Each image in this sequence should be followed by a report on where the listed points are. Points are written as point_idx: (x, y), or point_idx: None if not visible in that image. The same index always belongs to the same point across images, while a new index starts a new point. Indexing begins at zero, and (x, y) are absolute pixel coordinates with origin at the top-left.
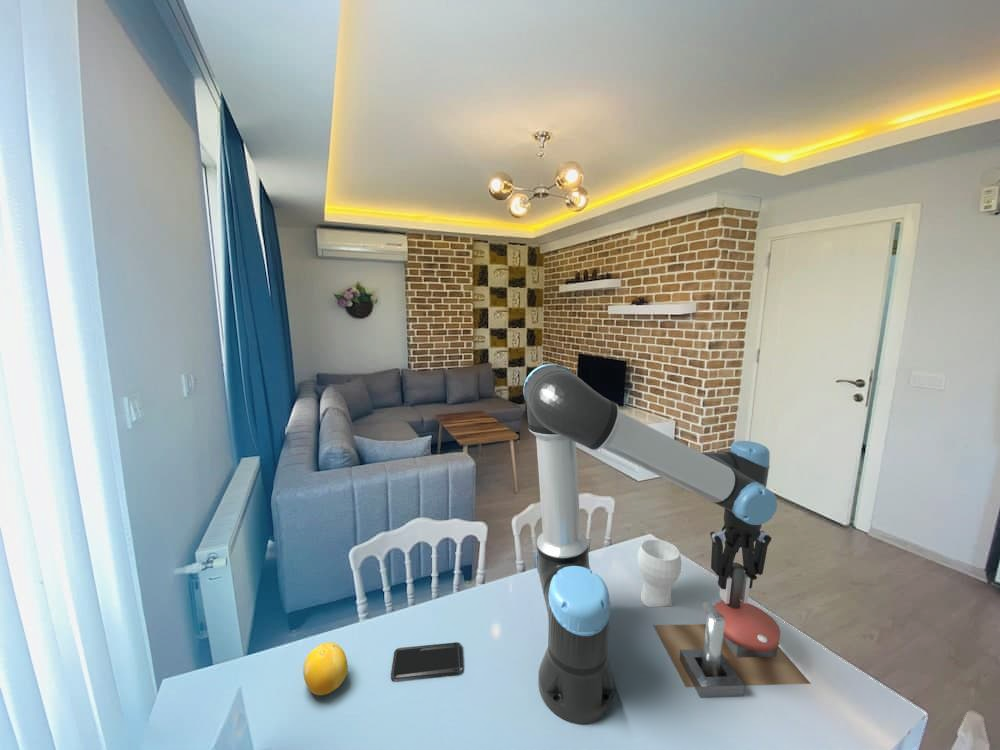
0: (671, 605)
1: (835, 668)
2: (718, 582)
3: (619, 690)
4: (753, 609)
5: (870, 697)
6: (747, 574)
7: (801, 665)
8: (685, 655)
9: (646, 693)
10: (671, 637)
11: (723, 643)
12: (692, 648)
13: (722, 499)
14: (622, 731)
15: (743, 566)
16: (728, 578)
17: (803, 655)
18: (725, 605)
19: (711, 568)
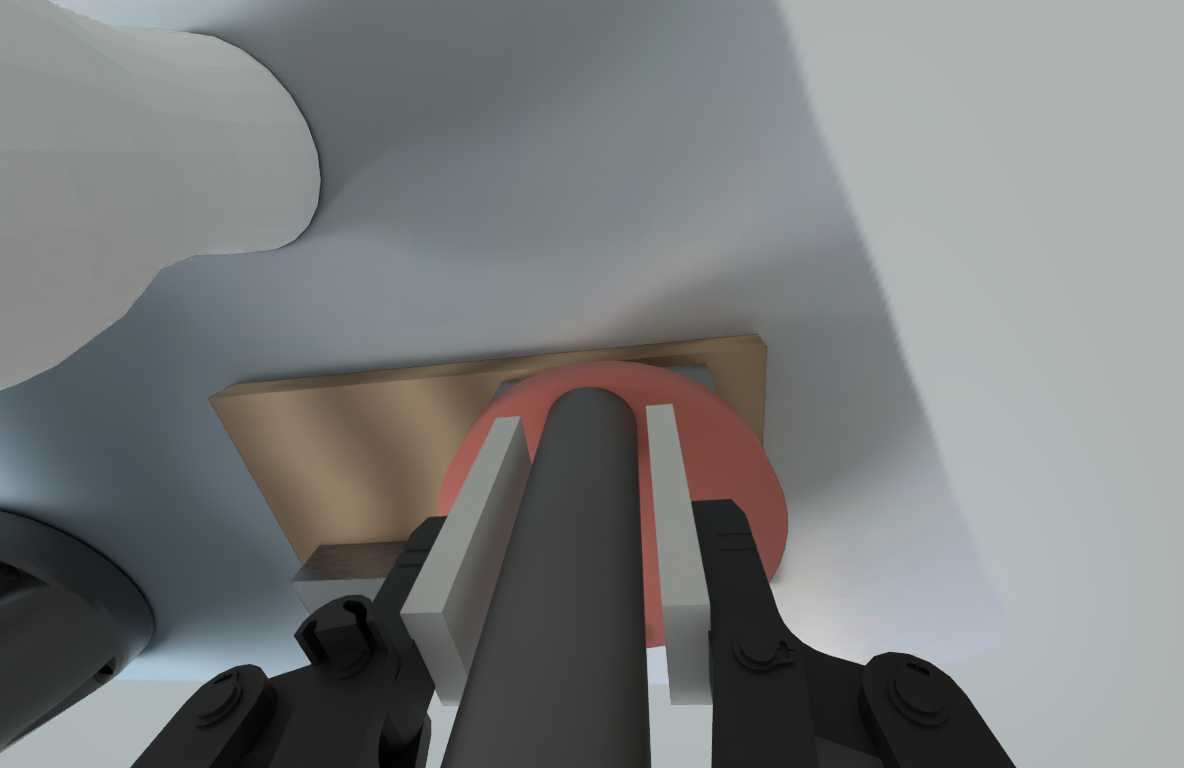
0: (317, 196)
1: (937, 516)
2: (408, 550)
3: (164, 594)
4: (712, 464)
5: (940, 601)
6: (710, 688)
7: (803, 509)
8: (309, 600)
9: (238, 599)
10: (292, 457)
11: None
12: (374, 501)
13: None
14: (196, 666)
15: (713, 702)
16: (442, 701)
17: (857, 468)
18: (534, 441)
19: (207, 692)
